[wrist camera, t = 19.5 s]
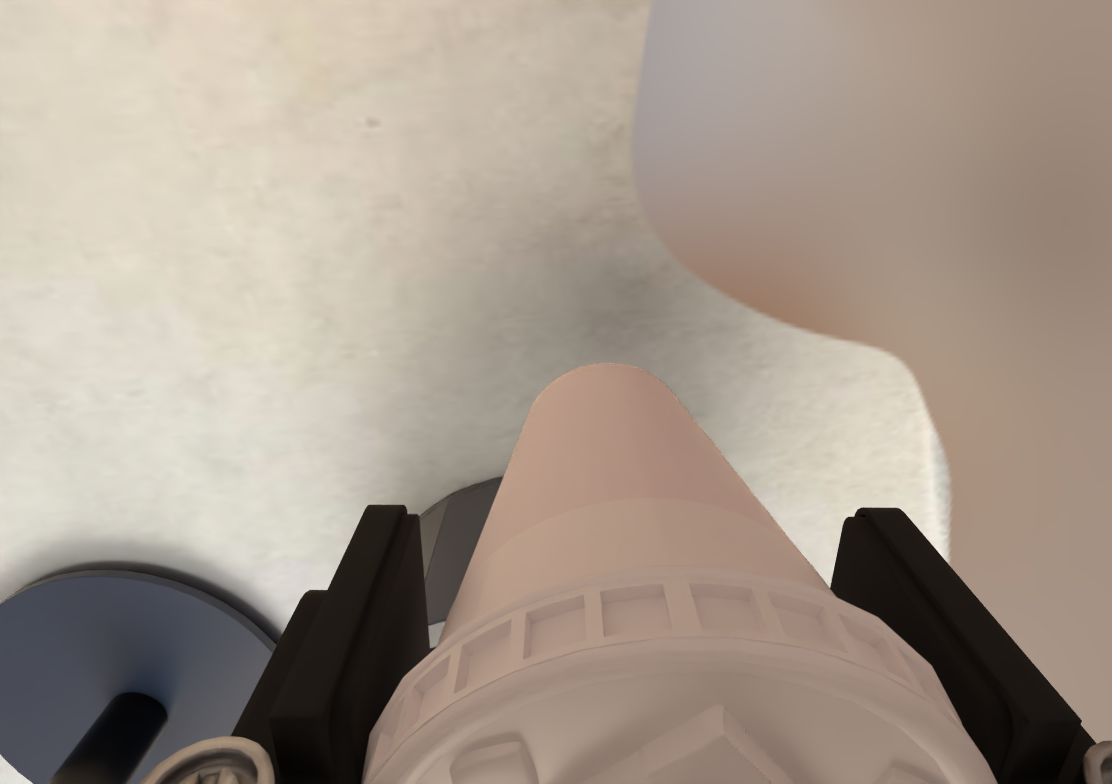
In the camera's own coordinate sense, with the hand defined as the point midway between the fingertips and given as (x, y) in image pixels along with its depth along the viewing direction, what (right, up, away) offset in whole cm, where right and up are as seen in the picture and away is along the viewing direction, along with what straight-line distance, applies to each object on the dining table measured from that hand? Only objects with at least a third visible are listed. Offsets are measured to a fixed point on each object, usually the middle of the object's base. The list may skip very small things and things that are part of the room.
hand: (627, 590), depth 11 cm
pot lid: (-21, -12, +22) cm, 33 cm away
